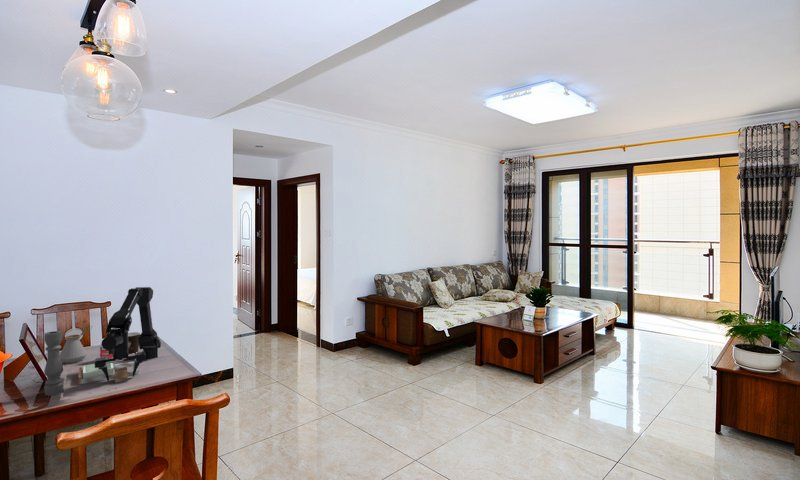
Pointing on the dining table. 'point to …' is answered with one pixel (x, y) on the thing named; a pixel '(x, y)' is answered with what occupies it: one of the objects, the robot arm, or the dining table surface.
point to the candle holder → (53, 364)
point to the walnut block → (121, 374)
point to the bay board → (100, 378)
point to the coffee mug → (133, 342)
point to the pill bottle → (105, 353)
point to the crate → (96, 370)
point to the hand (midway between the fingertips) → (120, 378)
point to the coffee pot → (73, 349)
